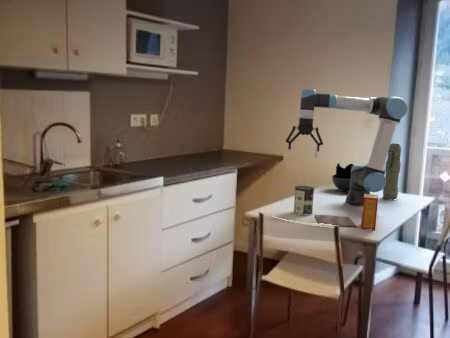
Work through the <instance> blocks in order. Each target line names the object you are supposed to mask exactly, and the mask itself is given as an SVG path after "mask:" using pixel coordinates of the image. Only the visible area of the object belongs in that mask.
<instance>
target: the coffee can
mask: <svg viewBox="0 0 450 338" xmlns="http://www.w3.org/2000/svg"><path fill="white" fill-rule="evenodd" d="M314 195H315V187H313V186H308V185H296V186H294V201H293V213H294V214H295V215H298V216H311V215H313V209H314Z"/></svg>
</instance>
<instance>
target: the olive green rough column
mask: <svg viewBox="0 0 450 338" xmlns="http://www.w3.org/2000/svg"><path fill="white" fill-rule="evenodd" d="M401 153H402V147H401V144H399V143H391V144H390V147H389V151H388V154H387V157H386V161H385V168H384V169H385V178H386V184H385V186H384V188H383V189H382V190H383V191H382V198H383V199H384V198H386V199H385V200H388V199H396V198H397V199H398V196H399V195H398V194H399V187H398V185H399V176H400V172H401V166H402V165H401V156H402V155H401Z"/></svg>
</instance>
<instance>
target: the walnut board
mask: <svg viewBox="0 0 450 338" xmlns="http://www.w3.org/2000/svg"><path fill="white" fill-rule="evenodd" d="M314 216H315V219H316V221H317V223H318V224H319V223H324V224H332V225H339V226H338V227H342V228H343V227H345V228H357V227H358V226H357V224H356V223H355V222H354V220H353V219H352V218H351V216H344V215H330V214H329V215H328V214H314Z"/></svg>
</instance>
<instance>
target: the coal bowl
mask: <svg viewBox="0 0 450 338" xmlns="http://www.w3.org/2000/svg"><path fill="white" fill-rule="evenodd" d="M352 166H355V165H354V164H353V163H349V164H348V165H346V166H345V167H342V166H341V164H340V163H337V164H336V166H335V174H333V175H332V176H331V178H332V183H333V184H334V186H335V188H337V189H338V190H339V191H340V192H341V191H342V192H343V193H349V190H350V179H351V169H352Z"/></svg>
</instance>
